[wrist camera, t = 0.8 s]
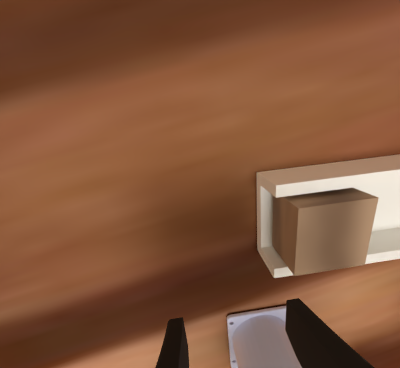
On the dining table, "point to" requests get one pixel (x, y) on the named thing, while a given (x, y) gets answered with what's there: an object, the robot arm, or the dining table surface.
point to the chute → (333, 180)
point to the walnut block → (323, 229)
